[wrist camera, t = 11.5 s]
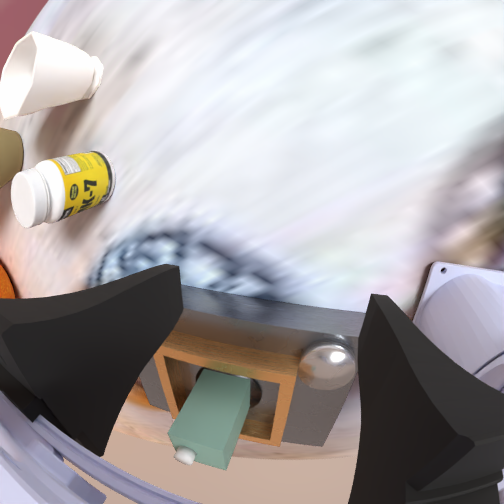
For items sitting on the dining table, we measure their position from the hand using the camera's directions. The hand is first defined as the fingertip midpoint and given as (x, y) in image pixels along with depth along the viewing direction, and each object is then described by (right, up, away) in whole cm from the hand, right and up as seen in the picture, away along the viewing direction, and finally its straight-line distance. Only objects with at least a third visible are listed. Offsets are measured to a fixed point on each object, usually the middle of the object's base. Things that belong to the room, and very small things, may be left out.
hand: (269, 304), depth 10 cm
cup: (-17, +17, +8) cm, 25 cm away
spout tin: (-3, -10, +12) cm, 16 cm away
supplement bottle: (-14, +8, +11) cm, 20 cm away
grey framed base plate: (-2, -9, +15) cm, 17 cm away
